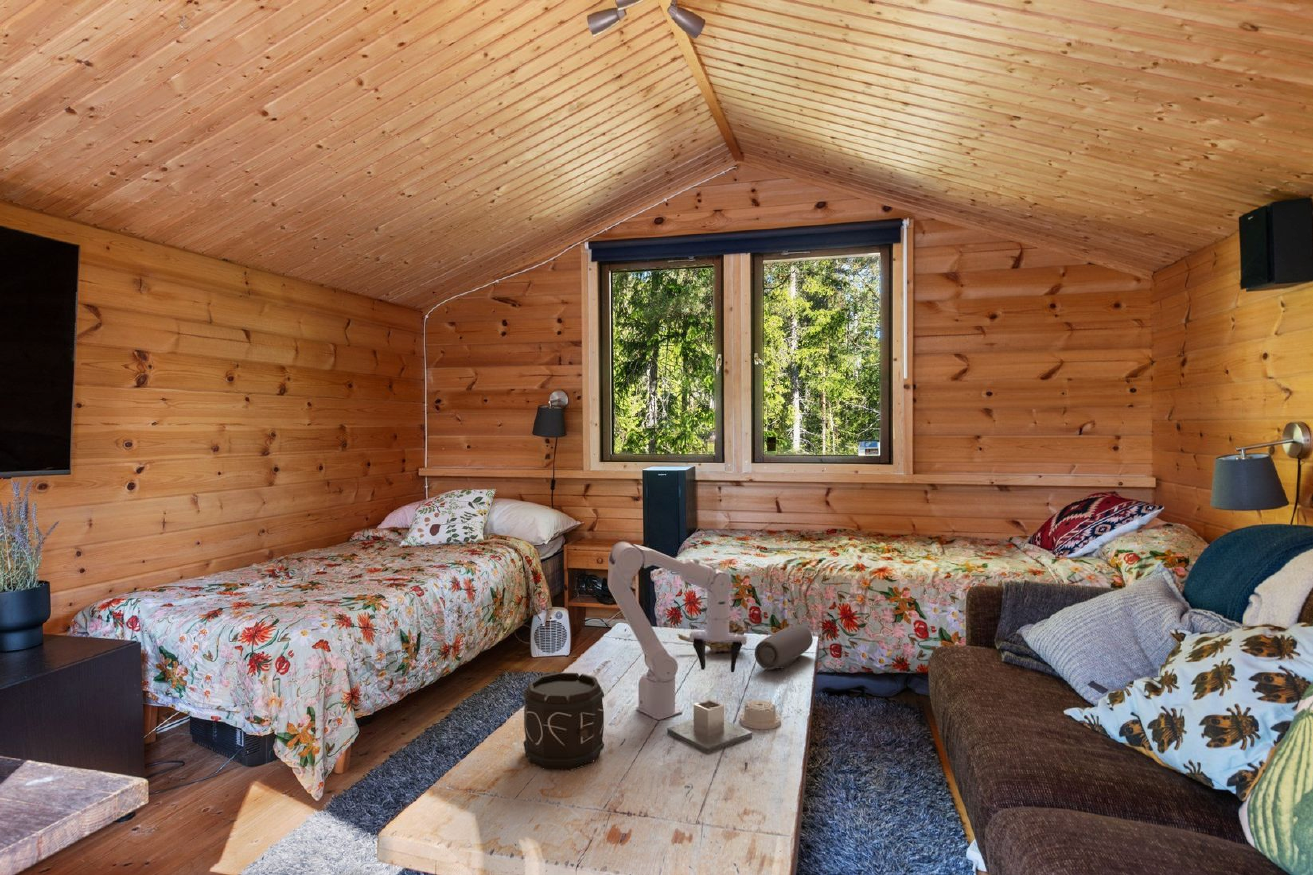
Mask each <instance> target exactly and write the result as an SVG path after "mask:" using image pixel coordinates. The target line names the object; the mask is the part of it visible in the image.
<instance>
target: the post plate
mask: <svg viewBox="0 0 1313 875" xmlns="http://www.w3.org/2000/svg"><path fill="white" fill-rule="evenodd" d="M666 733H667V735H670V736H672V737H673V738H676V739H677V740H679V741H682V742H683V743H686V745H687V744H688V745H689V746H691V747H693V748H695V749H697V750H699V751H701V752H703V753H705V754H710V753H713V752H716V751H718V750H721V749H724V748H726V747H730V746H732V745H734V744H737V743H741V742H743V741H745V740H749V739H751V738H753V732H752V731H750V730H748V729H746V728H744V727H742V726H740V725H737V724H735V723H733V722H730V721H728V720H726V719H724V731H723V732H720V733H717V734H714V735H711V736H706V735H704V734H702V733H700V732H697V731H695V730H694V719H690V720H688V721H685V722H683V723H679V724H676V725H673V726H669V727H667V728H666Z"/></svg>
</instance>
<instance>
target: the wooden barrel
mask: <svg viewBox="0 0 1313 875" xmlns="http://www.w3.org/2000/svg"><path fill="white" fill-rule="evenodd" d="M522 696H523V700H524V709H523V719H524V720H523V727H524V729H523V730H524V735H525V740H524V741H523V748H524V753H525V757H526V758H528V759H529V763H530V764H531V763H532V764H531V765H533V764H535V765H534V766H536V765H537V766H536V767H538V766H539V767H538V768H540V769H543V768H544V769H543V770H545V769H546V771H566V770H569V771H572V770H571V769H573V768H576V769H579V768H578V767H580V768H582V767H581V766H584V767H586V766H585V765H588V764H590V765H591V764H592V763H593V762H594V761H595V760H597V759H598V758H599V757H600V756H599V755H600V754H601V752H602V750H603V749H604V747H605V742H604V741H603V739H604V730H605V726H604V725H605V721H604V720H605V715H604V714H605V713H604V703H603V698H604V697H605V693H604V690H603V689H602V687H601V684H600V683H599V681H598V679H597V677H595V676H591V675H588V674H585V673H581V674H579V673H578V672H555V673H550V674H545V675H540V676H538V677H537V678H535V679H533V680H532V681H531V680H530V682H528V684H527V688H525V689H524V690H523V693H522ZM598 756H599V757H598ZM597 757H598V758H597ZM593 760H594V761H593ZM588 766H589V765H588ZM573 770H574V769H573Z"/></svg>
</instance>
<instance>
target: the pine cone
mask: <svg viewBox="0 0 1313 875" xmlns="http://www.w3.org/2000/svg"><path fill="white" fill-rule="evenodd" d="M705 631H707V629H705ZM729 633H734V634H740V635H745V634H746V633H745V628H744V627H743V626H742V624H739V622H738V621H736V622H734V621H733V620H729ZM676 635H677V637H678V639H680V641H684V642H687V643H692V644H693V643H694V641H690V637H688V636H685V635H683V634H680V633H677V634H676ZM731 645H732V643H726V642H712V641H706V644H705V647H708V648H709V650H710V651H711V652H712V653H716V652H718V653H721V652H722V651H723V652H727V651H729V652H731Z"/></svg>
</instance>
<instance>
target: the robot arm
mask: <svg viewBox="0 0 1313 875" xmlns="http://www.w3.org/2000/svg"><path fill="white" fill-rule="evenodd" d="M607 562H608V567H607V568H608V570H607V571H608V572H607V587H608V591H610V593H611V595H612V597H613V599H614V600H615V602H616V604H617V606H618V608H619V609H620V612H621V613H622V615H623V617H624V618H625V620H626V622H627V624H628V625H629V627H630V629H631V631H632V632H633V634H634V637H635V638H636V640H637V642H638V643H639V645H640V648H641V650H642V652H643V655H644V663H645V666H646V667H647V669H648V670H647V672H645V673H643V674H642V675H641V677H640V678H639V681H638V684H637V685H638V689H637V690H638V692H637V694H638V702H637V703H638V706H636V707H635V710H637V711H639V712H641V713H643V714H645V715H648V716H649V717H651V718H654V719H656V720H657V721H661V720H663V719H666V718H669V717H673V716H676V715H679V714H682V713H683V710H682V709H680V708H678V707H676V675H677V673H678V669H679V664H678V662H677V660H676V659H675V658H674V656H671V654H670V653H669V652H668V651H667V649H666V648H665V647H664V645H663V643H662V642H661V641H660V639H659V637H658V635H657V634H656V632H655V630H654V629H653V627H652V625H651V623H650V621H649V619H648V618H647V616H646V614H645V612H644V609H642V607H641V605H640V603H639V602H638V599H637V598H636V596H635V594H634V593H633V590H632V589H631V587H630V586H631V584H632V582H633V579H634V576H636V575H637V573H638V572H639V571H640V570H641V568H643V569H647V568H650V567H652V566H655V567H658V568H661V569H664V570H667V571H669V572H673V573H675V574H678V575H679V577H680V579H681V581H682V582H686V583H688V584H690V585H693V586H696V587H697V588H702V589H707V591H706V594H707V595H706V630H707V631H703V630H702V631H700V630H699V631H692V630H691V631H690V632H689V638H690V641H694V643H692V646H693V648H694V650H695V653H696V654H697V657H698V661H699V665H700V670H702V671H703V670H704V671H705V669H706V645H705V644H706V641H712V642H726V643H732V645H731V650H730V655H731V656H730V658H731V659H730V660H731V662H730V673H734V672H735V671H736V670H735V669H736V663H737V660H738V657H739V653H740V651H741V649H742V646H744V645H747V642H748V640H747V639H748V637H747V636H748V635H746V634H744V635H740V634H734V633H729V622H730V593H731V592H732V590H733V587H734V583H733V581H732V577H731V576H730V575H729V574H728V573H727V572H725V571H723V570H721V569H718V568H717V567H716V566H714V565H710V566H709V565H707V564H704V563H701V560H700V559H697V558H693V559H689V558H688V559H686V560H684V561H681V560H679V559H676V558H674V557H671V556H670V555H667V554H665V553H662V552H660V551H657V550H655V549H652V548H650V547H646V546H643V545H639V544H633V545H632V544H631V543H629V542H628V541H619V542H617V543H616V544H614V545H613V547H612V548H611V550H610V553H609V555H608V557H607Z"/></svg>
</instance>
